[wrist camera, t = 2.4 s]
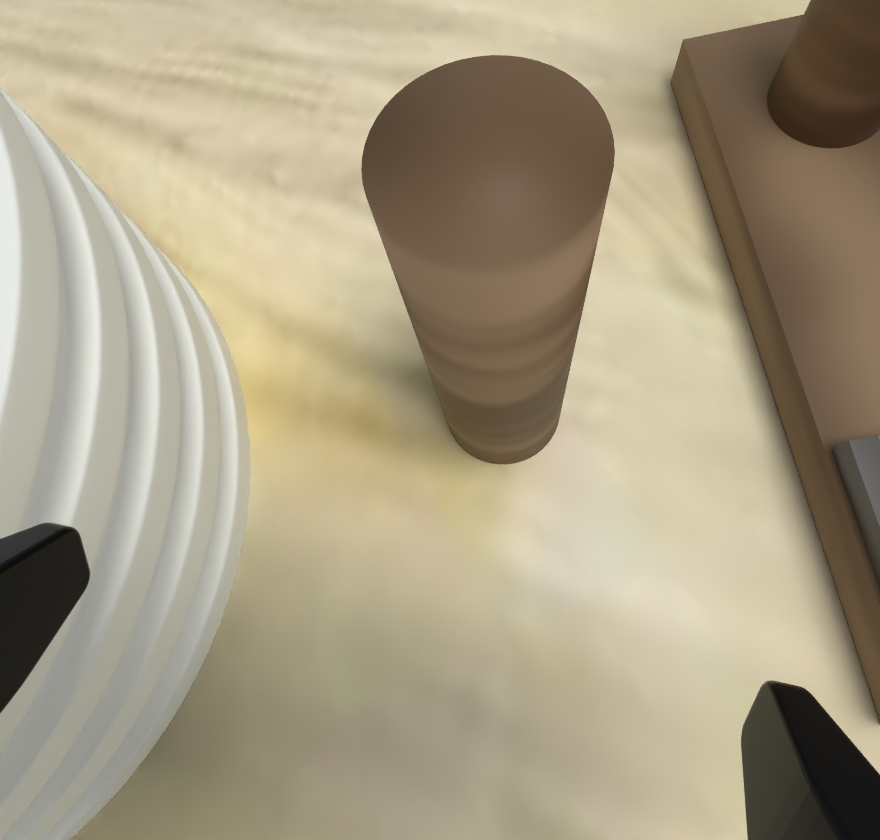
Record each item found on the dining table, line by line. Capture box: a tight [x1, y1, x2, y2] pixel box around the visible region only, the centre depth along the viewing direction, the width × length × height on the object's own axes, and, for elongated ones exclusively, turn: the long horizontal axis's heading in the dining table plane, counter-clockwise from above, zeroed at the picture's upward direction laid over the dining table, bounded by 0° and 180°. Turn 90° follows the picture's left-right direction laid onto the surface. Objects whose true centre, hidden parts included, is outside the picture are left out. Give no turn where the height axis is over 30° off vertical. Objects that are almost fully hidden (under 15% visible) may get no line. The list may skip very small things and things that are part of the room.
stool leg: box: [362, 55, 615, 464], centre depth 16 cm, size 4×4×13 cm
